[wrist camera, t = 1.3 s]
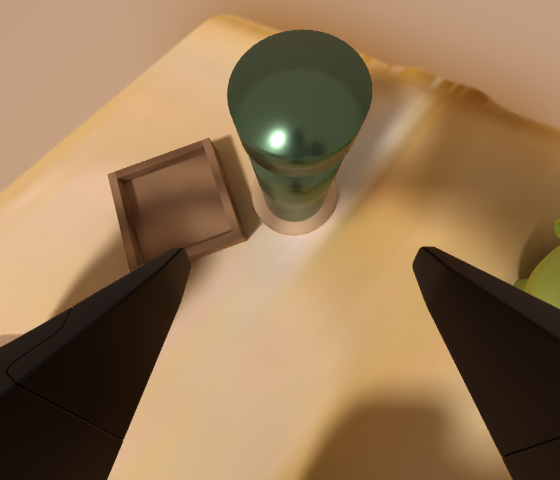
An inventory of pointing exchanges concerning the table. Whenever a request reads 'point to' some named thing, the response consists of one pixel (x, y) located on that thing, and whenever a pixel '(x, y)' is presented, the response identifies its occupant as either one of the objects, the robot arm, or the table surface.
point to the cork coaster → (294, 227)
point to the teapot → (545, 276)
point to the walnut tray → (175, 205)
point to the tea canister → (298, 115)
